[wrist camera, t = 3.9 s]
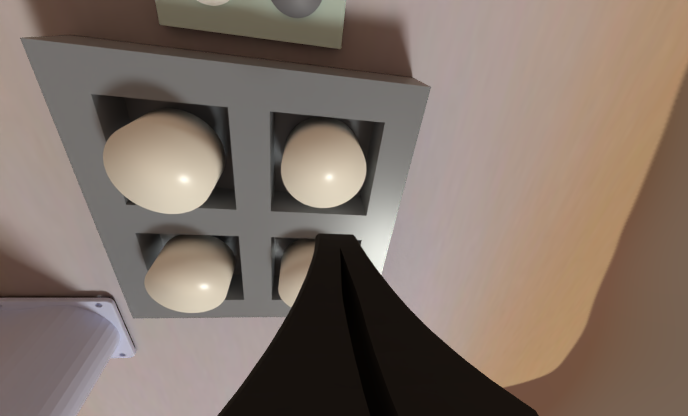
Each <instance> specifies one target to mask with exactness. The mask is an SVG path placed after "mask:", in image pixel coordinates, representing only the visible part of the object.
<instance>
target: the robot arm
mask: <svg viewBox="0 0 688 416" xmlns="http://www.w3.org/2000/svg"><path fill="white" fill-rule="evenodd" d="M135 353H136V350H135V348H134V345H133V343H132V341H131V339H130V336H129V334H128V332H127V329H126V327H125V325H124V322H123V320H122V318H121V316H120V313H119V311H118V309H117V306H116V304H115V302H114V300H112V299H110V298H0V416H77V414H78V413H79V411H80V409H81V407H82V406H83V404H84V402H85V401H86V399H87V397H88V396H89V394H90V392H91V390H92V389H93V387H94V385H95V384H96V382H97V380H98V378H99V377H100V375H101V373H102V372H103V370H104V368H105V367H106V365H107V363H108V361H109V360H110V358H130V357H133V356H134V355H135ZM218 416H538V414H537V412H536V411H535V410H534V409H532V408H531V407H529V406H528V405H526V404H525V403H523V402H522V401H520V400H519V399H518V398H516V397H515V396H513V395H512V394H511V393H509V392H508V391H506V390H505V389H503V388H502V387H501V386H499V385H498V384H496V383H495V382H493V381H492V380H491V379H489V378H488V377H487V376H485V375H484V374H483V373H481V372H480V371H479V370H477V369H476V368H475V367H474V366H472V365H471V364H470V363H468V362H467V361H466V360H465V359H463V358H462V357H461V356H460V355H459V354H457V353H456V352H455V351H454V350H453V349H451V348H450V347H449V346H448V345H447V344H446V343H445V342H443V341H442V340H441V339H440V338H439V337H438V336H437V335H435V334H434V333H433V332H432V331H431V330H430V329H429V328H428V327H427V326H426V325H425V324H424V323H423V322H422V321H421V320H420V319H419V318H418V317H417V316H416V315H415V314H414V313H413V312H412V311H411V310H410V309H409V308H408V307H407V306H406V305H405V303H404V302H403V301H402V300H401V299H400V298H399V297H398V295H397V294H396V293H395V292H394V291H393V289H392V288H391V287H390V286H389V285H388V283H387V282H386V281H385V279H384V278H383V277H382V275H381V274H380V273H379V271H378V270H377V269H376V267H375V266H374V265H373V263H372V262H371V260H370V259H369V257H368V256H367V254H366V253H365V251H364V250H363V248H362V247H361V245H360V244H359V242H358V240H357V239H356V237H355V236H354V235H353V234H324V233H319V234H317V235H316V237H315V248H314V253H313V257H312V261H311V263H310V266H309V269H308V272H307V275H306V277H305V280H304V282H303V284H302V286H301V289H300V291H299V293H298V295H297V298H296V300H295V302H294V304H293V306H292V307H291V309H290V311H289V313H288V315H287V317H286V318H285V320H284V322H283V324H282V325H281V327H280V329H279V330H278V332H277V334H276V335H275V337H274V339H273V340H272V342H271V343H270V345H269V347H268V348H267V350H266V351H265V353H264V354H263V356H262V357H261V358H260V360H259V361H258V363H257V364H256V365H255V367H254V368H253V370H252V371H251V373H250V374H249V375H248V377H247V378H246V380H245V381H244V382H243V384H242V385H241V386H240V388H239V389H238V390H237V392H236V393H235V394H234V396H233V397H232V398H231V399H230V401H229V402H228V403H227V404H226V406H225V407H224V408H223V409H222V411H221V412H220V413H219V414H218Z"/></svg>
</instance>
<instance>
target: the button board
mask: <svg viewBox="0 0 688 416" xmlns="http://www.w3.org/2000/svg"><path fill="white" fill-rule="evenodd" d="M20 39H21V41H22V44H23V46H24V49H25V51H26V54H27V56H28V59H29V61H30V64H31V66H32V69H33V71H34V74H35V76H36V78H37V81H38V83H39V86H40V88H41V91H42V93H43V96H44V98H45V101H46V103H47V106H48V108H49V111H50V113H51V116H52V118H53V121H54V123H55V126H56V128H57V131H58V133H59V136H60V138H61V141H62V143H63V146H64V148H65V151H66V153H67V156H68V158H69V161H70V163H71V165H72V168H73V170H74V173H75V175H76V178H77V180H78V183H79V185H80V188H81V190H82V193H83V195H84V198H85V200H86V203H87V205H88V208H89V210H90V213H91V215H92V218H93V220H94V223H95V225H96V228H97V230H98V233H99V235H100V238H101V240H102V243H103V245H104V248H105V250H106V252H107V255H108V257H109V260H110V262H111V265H112V267H113V270H114V272H115V275H116V277H117V280H118V282H119V285H120V287H121V290H122V292H123V295H124V297H125V300H126V302H127V305H128V307H129V310H130V312H131V315H132V317H133V318H218V317H287V315H288V313H289V311H290V309H291V307H290V306H288V305H287V304H286V303H285V302H284V301H283V300H282V299H281V297H280V295H279V292H278V286H279V277H280V268H281V259H282V255H283V253H284V251H285V250H286V248H287V247H288V246H289V245H290V244H292V243H293V242H295V241H297V240H299V239H302V238H311V239H315V237H316V235H317V234H319V233H324V234H353V235H354V236H355V237H356V239H357V240H358V242H359V244H360V245H361V247H362V248H363V250H364V251H365V253H366V254H367V256H368V257H369V259H370V260H371V262H372V263H373V265H374V266H375V267H376V269H377V270H378V271H379V273H380V274H381V273H382V270H383V266H384V262H385V258H386V255H387V251H388V247H389V243H390V239H391V236H392V232H393V228H394V224H395V221H396V217H397V213H398V209H399V205H400V202H401V198H402V194H403V190H404V187H405V183H406V179H407V175H408V171H409V168H410V164H411V160H412V156H413V153H414V149H415V145H416V141H417V137H418V134H419V130H420V126H421V122H422V119H423V115H424V111H425V107H426V103H427V100H428V96H429V92H430V88H431V87H430V86H428V85H426V84H424V83H422V82H420V81H418V80H417V79H415V78H412V77H404V76H396V75H388V74H380V73H372V72H364V71H356V70H348V69H340V68H332V67H324V66H316V65H308V64H299V63H291V62H283V61H275V60H267V59H259V58H251V57H243V56H235V55H227V54H219V53H211V52H203V51H195V50H187V49H179V48H171V47H163V46H155V45H146V44H138V43H130V42H122V41H114V40H106V39H98V38H90V37H82V36H74V35H61V36H43V37H25V38H20ZM164 108H172V109H179V110H182V111H186V112H188V113H191V114H193V115H195V116H197V117H199V118H200V119H202V120H203V121H204V122H206V123H207V124H208V125H209V126H210V127H211V128H212V129H213V130H214V131H215V132H216V134H217V135H218V137H219V138H220V140H221V142H222V144H223V147H224V150H225V159H226V161H225V167H224V170H223V172H222V174H221V176H220V178H219V180H218V182H217V183H216V185H215V187H214V189H213V190H212V192H211V194H210V196H209V197H208V199H207V200H206V201H205V202H204V203H203V204H202V205H201V206H199V207H198V208H196V209H194V210H192V211H189V212H186V213H180V214H164V213H159V212H154V211H151V210H148V209H146V208H143V207H141V206H139V205H137V204H135V203H134V202H132V201H130V200H129V199H128V198H126V197H125V196H124V195H123V194H122V193H121V192H120V191H119V190H118V189H117V188H116V187H115V186H114V185H113V183H112V182H111V180H110V179H109V177H108V175H107V173H106V170H105V167H104V162H103V151H104V147H105V144H106V142H107V140H108V139H109V137H110V136H111V135H112V134H113V133H114V132H115V131H117V130H119V129H120V128H122V127H124V126H125V125H127V124H129V123H131V122H132V121H134V120H136V119H138V118H139V117H141V116H143V115H145V114H147V113H148V112H151V111H153V110H157V109H164ZM320 116H321V117H331V118H334V119H337V120H339V121H341V122H343V123H344V124H346V125H347V126H348V127H349V128H350V129H351V130H352V131H353V133H354V134H355V136H356V138H357V140H358V143H359V145H360V147H361V150H362V152H363V155H364V157H365V161H366V176H365V180H364V183H363V185H362V187H361V188H360V190H359V191H358V193H357V194H356V195H355V196H354V197H352V198H351V199H350V200H348V201H347V202H345V203H343V204H341V205H338V206H335V207H330V208H316V207H311V206H308V205H305V204H303V203H301V202H300V201H298V200H296V199H295V198H294V197H293V196H292V195H291V194H290V193H289V192H288V190H287V189H286V187H285V185H284V183H283V180H282V176H281V163H282V158H283V152H284V147H285V143H286V140H287V137H288V136H289V134H290V132H291V131H292V130H293V129H294V128H295V127H296V126H297V125H298V124H299V123H301V122H303V121H305V120H307V119H309V118H313V117H320ZM180 234H186V235H211V236H214V237H216V238H218V239H220V240H221V241H223V242H224V243H225V244H227V245H228V246H229V247H230V249H231V250H232V252H233V253H234V256H235V260H236V264H235V269H234V272H233V275H232V279H231V282H230V285H229V289H228V292H227V295H226V298H225V300H224V301H223V302H222V303H221V304H220V305H219V306H218V307H216V308H214V309H212V310H209V311H205V312H200V313H184V312H178V311H174V310H171V309H168V308H166V307H164V306H162V305H160V304H159V303H157V302H156V301H155V300H154V299H152V298H151V296H150V295H149V294H148V292H147V291H146V288H145V284H144V280H145V276H146V274H147V272H148V271H149V269H150V268H151V266H152V264H153V263H154V261H155V260H156V258H157V257H158V255H159V253H160V252H161V250H162V249H163V247H164V246H165V244H166V243H167V242H168V241H169V240H170V239H171V238H173V237H175V236H177V235H180Z"/></svg>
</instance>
